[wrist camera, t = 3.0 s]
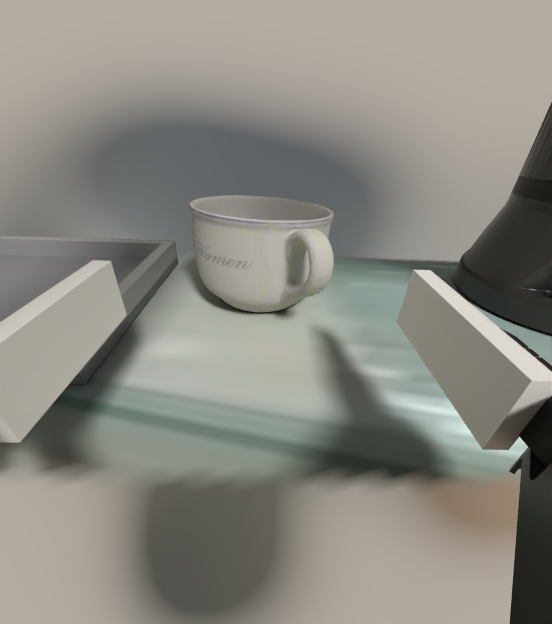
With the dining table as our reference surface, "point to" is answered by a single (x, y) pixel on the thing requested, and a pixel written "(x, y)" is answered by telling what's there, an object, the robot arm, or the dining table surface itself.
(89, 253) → the tray
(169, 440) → the dining table surface
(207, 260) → the teacup
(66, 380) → the robot arm
